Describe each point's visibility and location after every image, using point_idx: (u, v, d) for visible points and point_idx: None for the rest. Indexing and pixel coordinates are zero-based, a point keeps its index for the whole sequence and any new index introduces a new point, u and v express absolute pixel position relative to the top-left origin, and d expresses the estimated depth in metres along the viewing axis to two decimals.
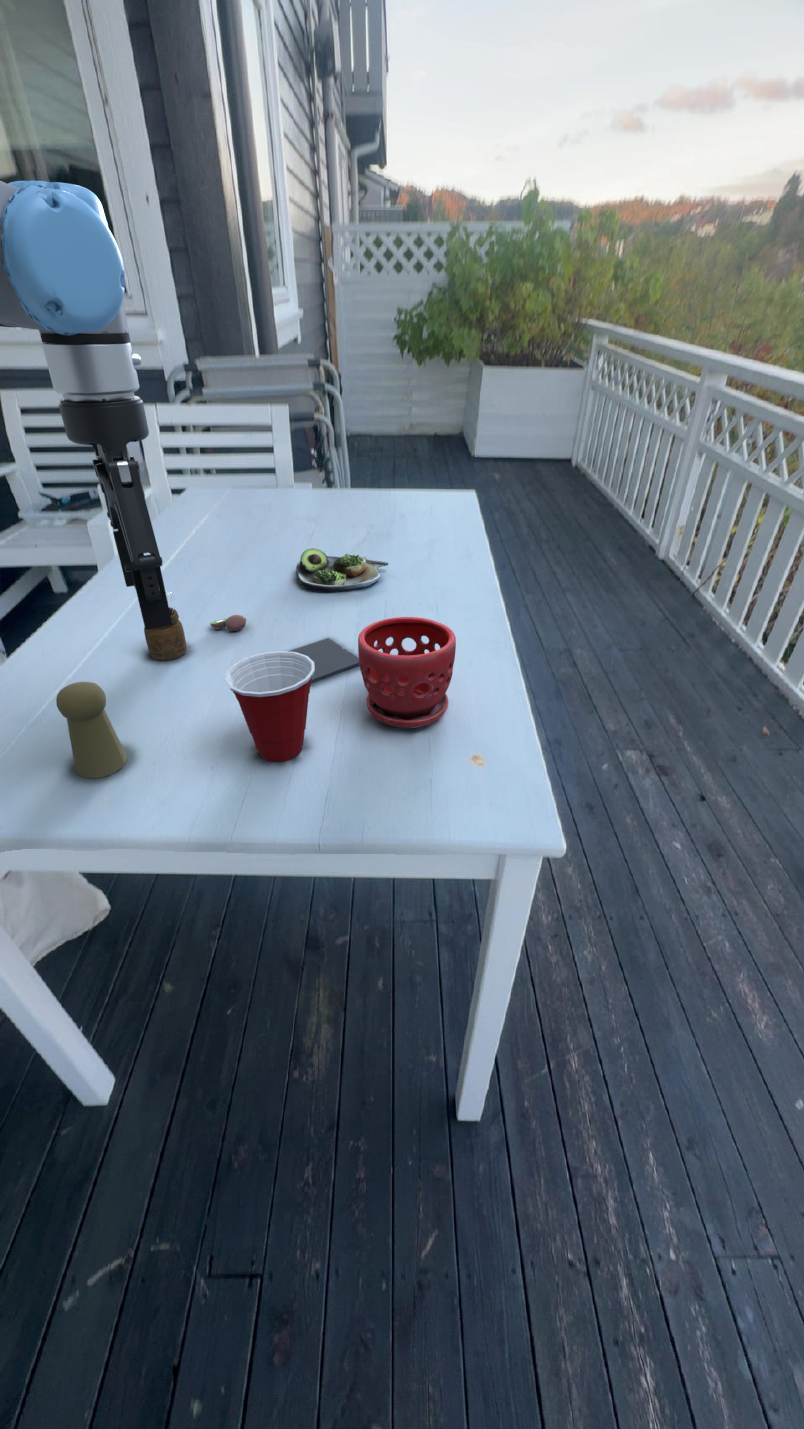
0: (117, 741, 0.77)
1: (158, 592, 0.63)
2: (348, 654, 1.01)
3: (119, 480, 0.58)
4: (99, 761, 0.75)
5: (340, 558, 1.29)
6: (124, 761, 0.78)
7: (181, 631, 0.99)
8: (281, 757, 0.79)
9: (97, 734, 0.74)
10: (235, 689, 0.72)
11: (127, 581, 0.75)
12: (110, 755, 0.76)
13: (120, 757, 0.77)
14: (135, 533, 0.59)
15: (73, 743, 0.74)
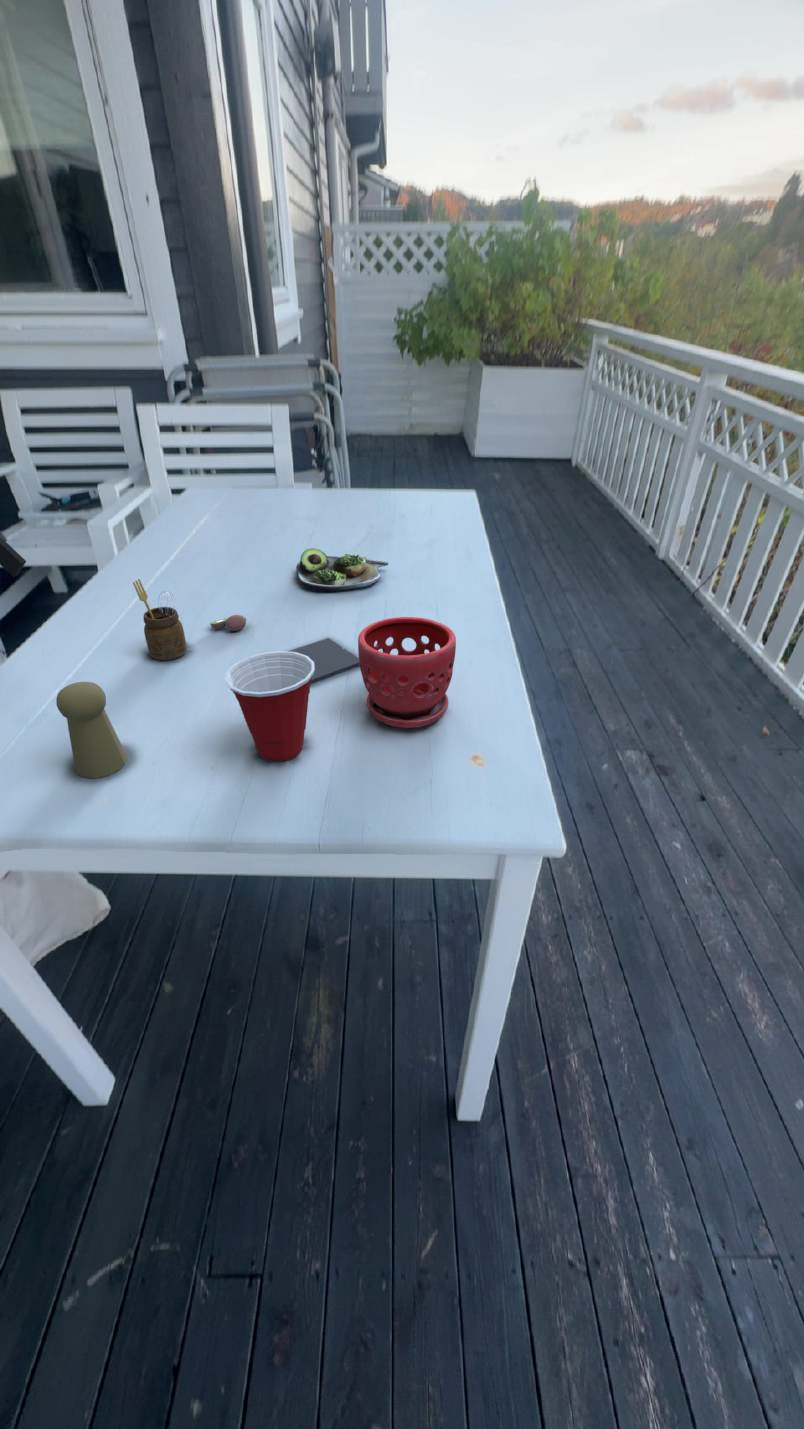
0: (117, 741, 0.77)
1: None
2: (348, 654, 1.01)
3: None
4: (99, 761, 0.75)
5: (340, 558, 1.29)
6: (124, 761, 0.78)
7: (181, 631, 0.99)
8: (281, 757, 0.79)
9: (97, 734, 0.74)
10: (235, 689, 0.72)
11: None
12: (110, 755, 0.76)
13: (120, 757, 0.77)
14: None
15: (73, 743, 0.74)
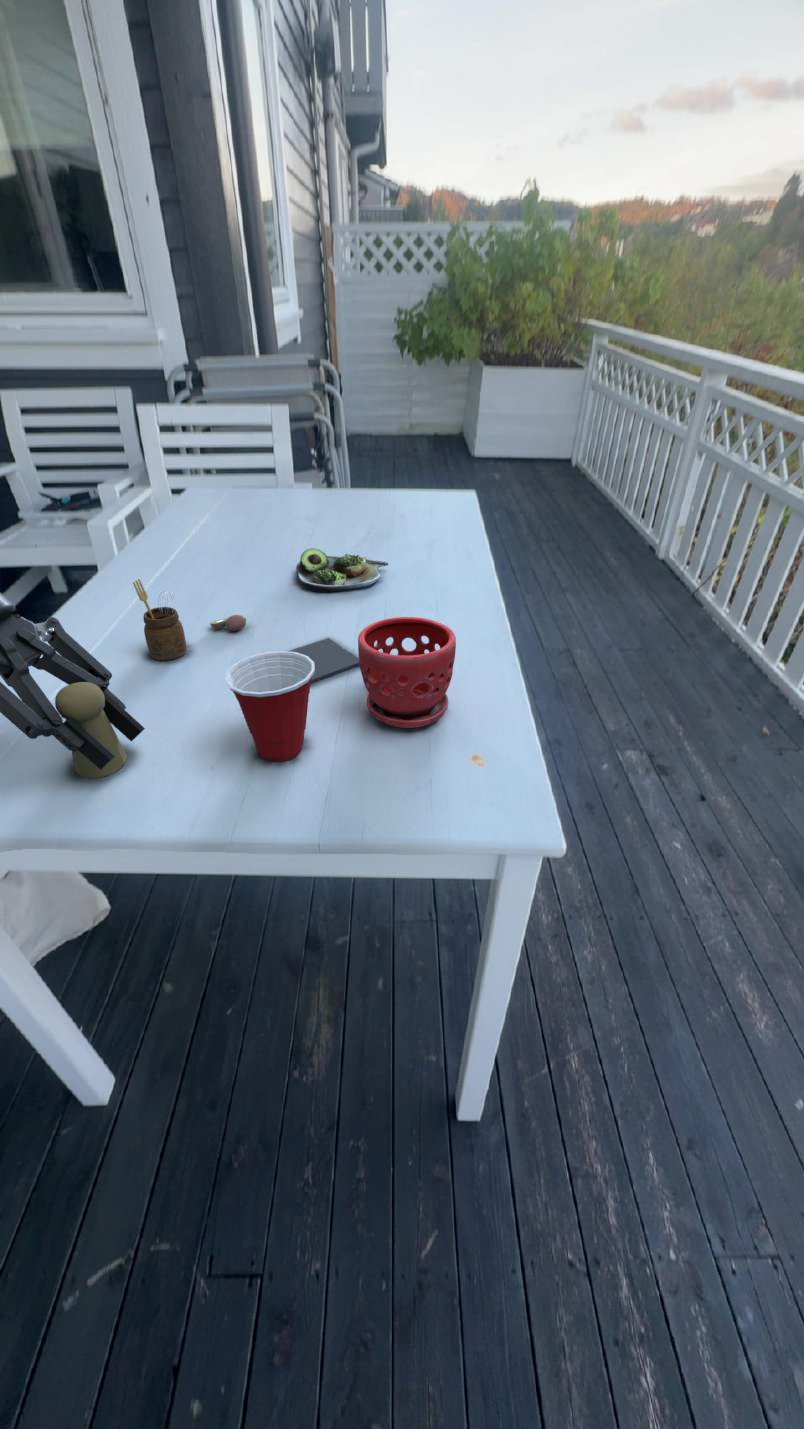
0: (117, 741, 0.77)
1: None
2: (348, 654, 1.01)
3: None
4: None
5: (340, 558, 1.29)
6: (124, 761, 0.78)
7: (181, 631, 0.99)
8: (281, 757, 0.79)
9: (96, 734, 0.74)
10: (235, 689, 0.72)
11: (110, 753, 0.72)
12: None
13: (120, 757, 0.77)
14: None
15: None
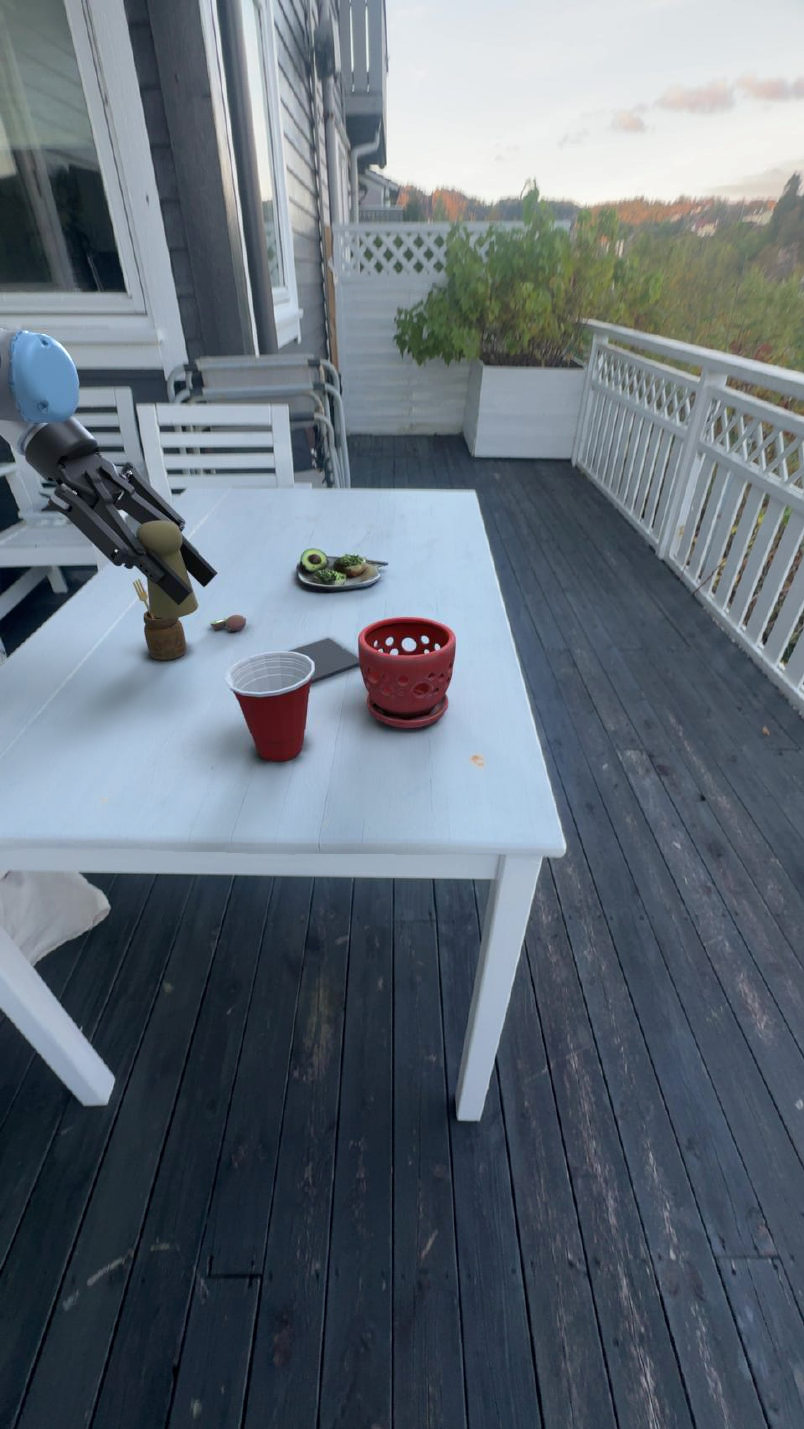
0: (190, 584, 0.79)
1: None
2: (348, 654, 1.01)
3: None
4: None
5: (340, 558, 1.29)
6: (196, 606, 0.81)
7: (181, 631, 0.99)
8: (281, 757, 0.79)
9: (174, 571, 0.76)
10: (235, 689, 0.72)
11: (188, 587, 0.75)
12: None
13: (193, 601, 0.80)
14: None
15: (150, 582, 0.77)
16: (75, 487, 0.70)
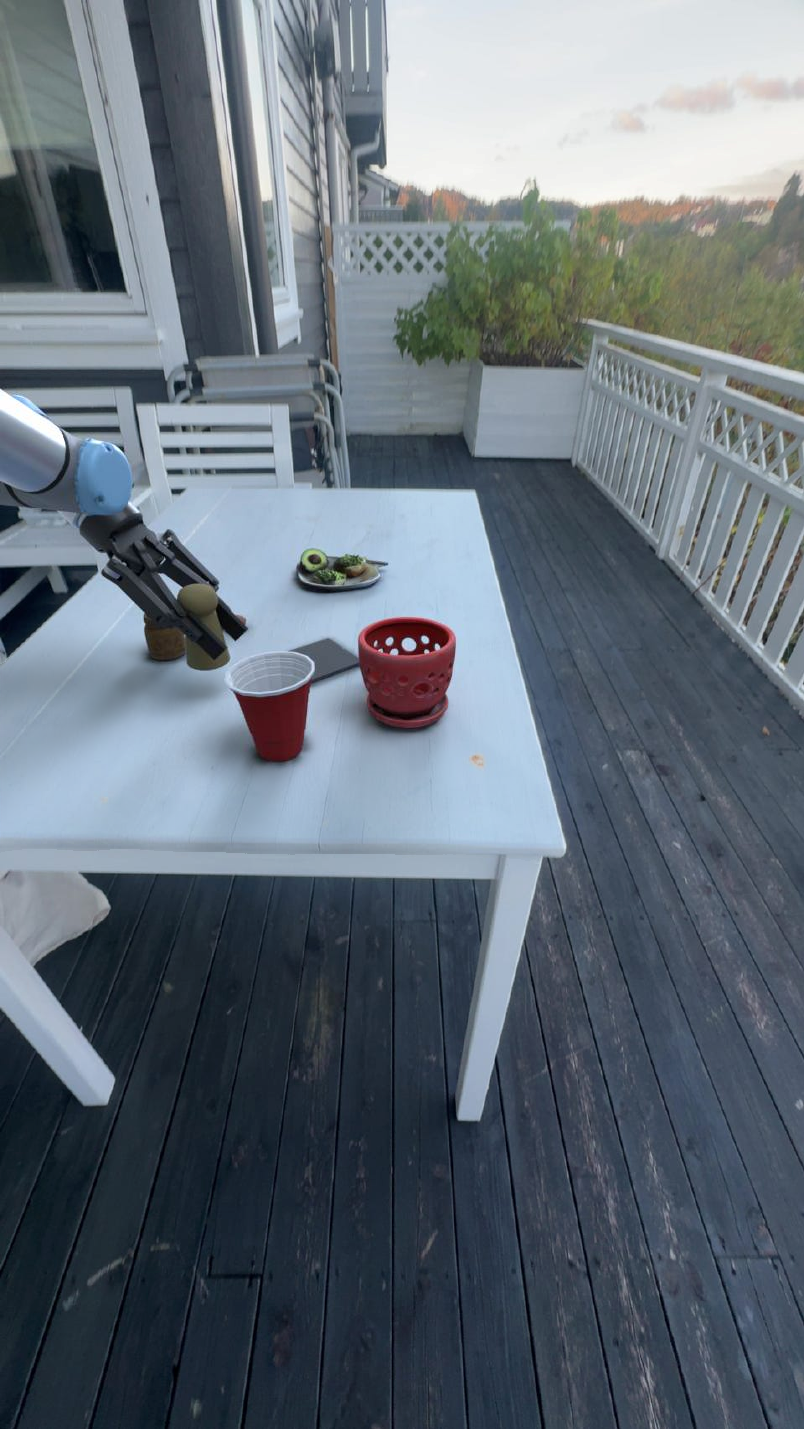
0: (224, 639, 0.87)
1: None
2: (348, 654, 1.01)
3: None
4: None
5: (340, 558, 1.29)
6: (229, 658, 0.89)
7: None
8: (281, 757, 0.79)
9: (210, 629, 0.84)
10: (235, 689, 0.72)
11: (223, 644, 0.83)
12: None
13: (226, 654, 0.88)
14: None
15: (188, 638, 0.85)
16: (124, 558, 0.78)
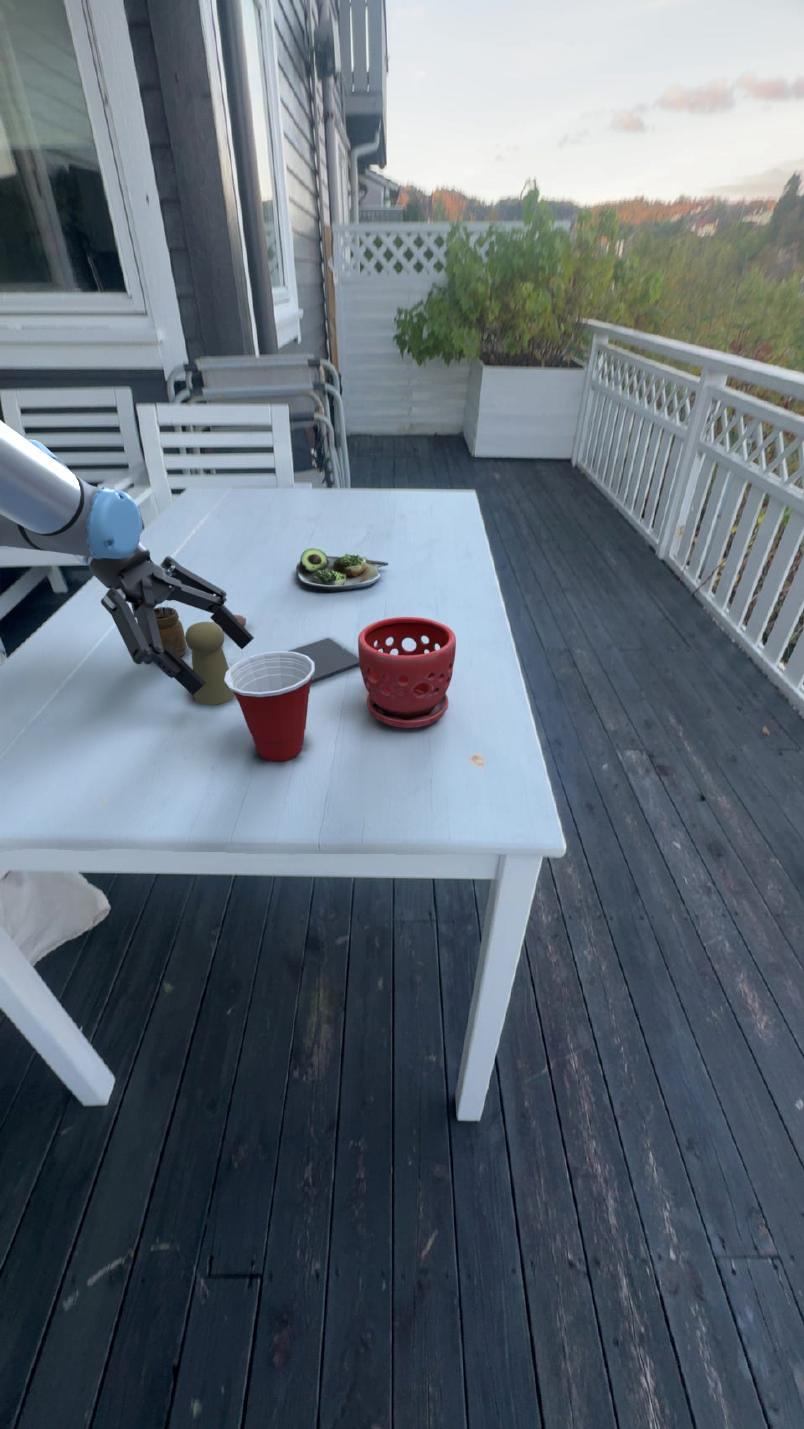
0: None
1: None
2: (348, 654, 1.01)
3: None
4: (217, 689, 0.89)
5: (340, 558, 1.29)
6: None
7: (181, 631, 0.99)
8: (281, 757, 0.79)
9: (217, 665, 0.88)
10: (235, 689, 0.72)
11: (202, 680, 0.82)
12: (225, 685, 0.90)
13: None
14: None
15: None
16: (128, 594, 0.81)
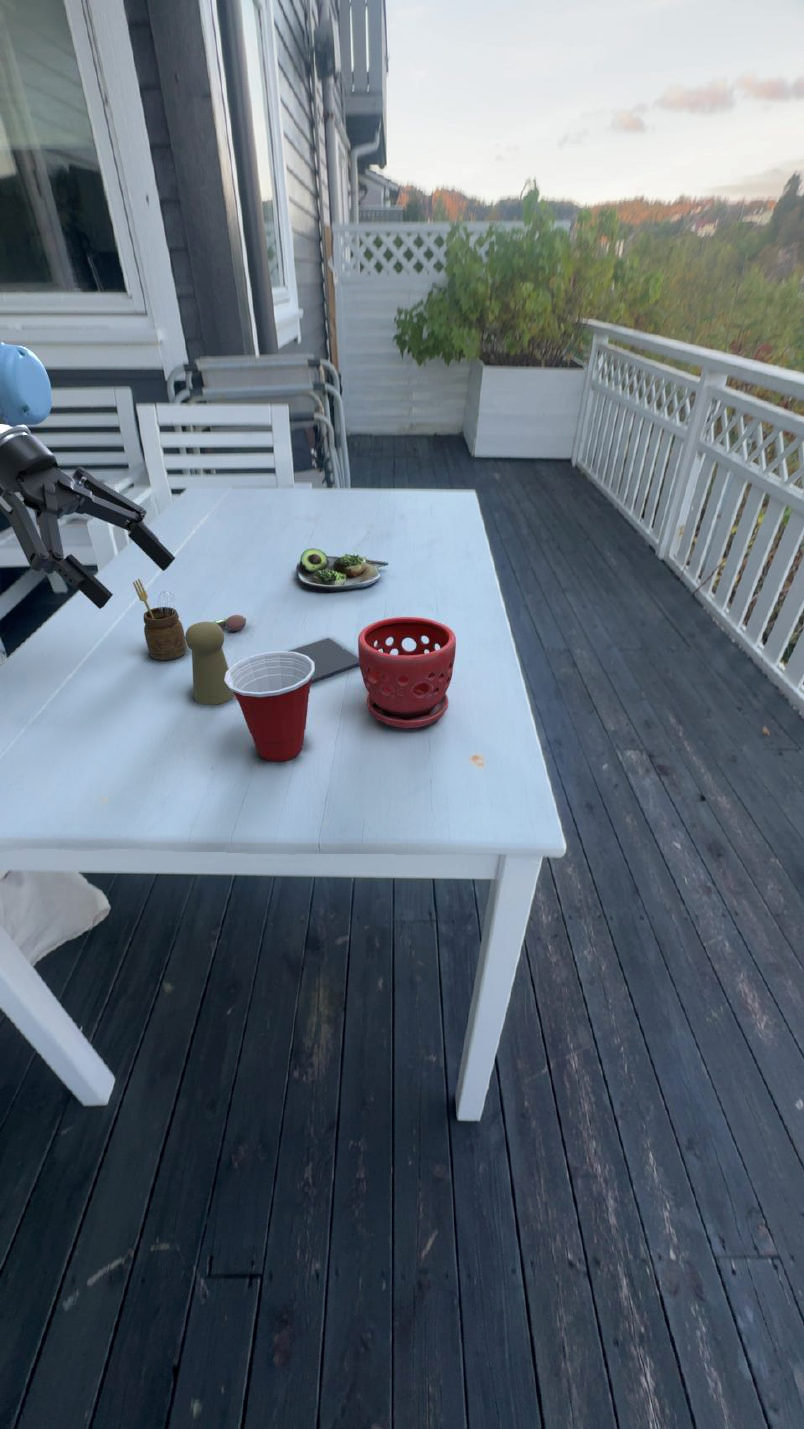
0: None
1: None
2: (348, 654, 1.01)
3: None
4: (217, 689, 0.89)
5: (340, 558, 1.29)
6: None
7: (181, 631, 0.99)
8: (281, 757, 0.79)
9: (217, 665, 0.88)
10: (235, 689, 0.72)
11: (108, 591, 0.77)
12: (225, 685, 0.90)
13: None
14: None
15: (196, 674, 0.88)
16: (28, 498, 0.76)
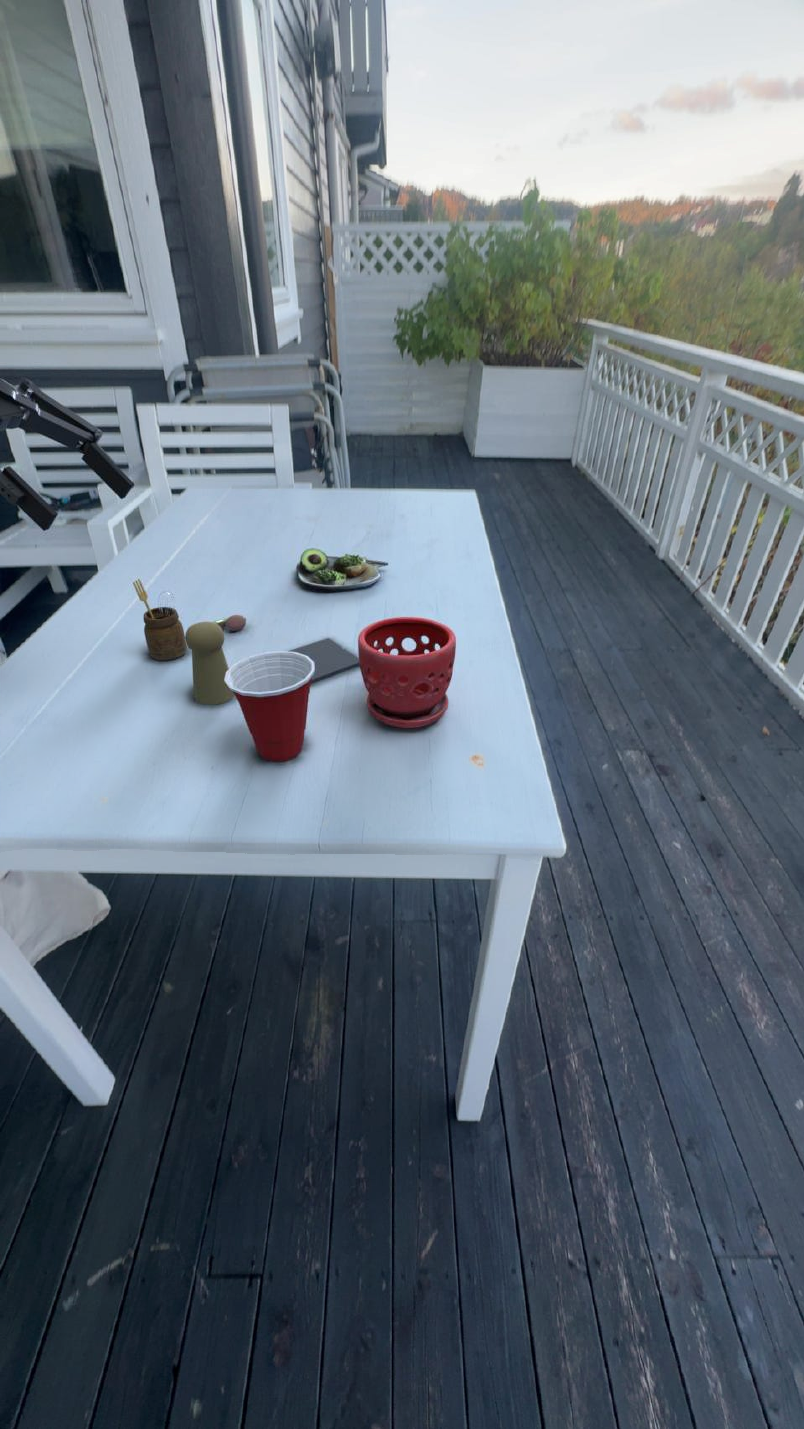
0: None
1: None
2: (348, 654, 1.01)
3: None
4: (217, 689, 0.89)
5: (340, 558, 1.29)
6: None
7: (181, 631, 0.99)
8: (281, 757, 0.79)
9: (217, 665, 0.88)
10: (235, 689, 0.72)
11: (53, 510, 0.69)
12: (225, 685, 0.90)
13: None
14: None
15: (196, 674, 0.88)
16: None
